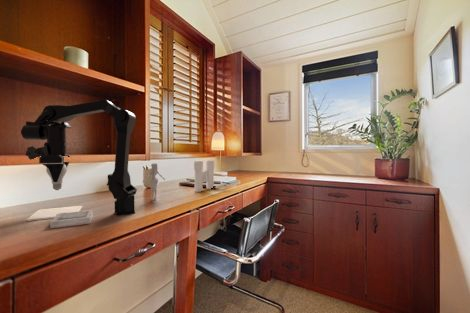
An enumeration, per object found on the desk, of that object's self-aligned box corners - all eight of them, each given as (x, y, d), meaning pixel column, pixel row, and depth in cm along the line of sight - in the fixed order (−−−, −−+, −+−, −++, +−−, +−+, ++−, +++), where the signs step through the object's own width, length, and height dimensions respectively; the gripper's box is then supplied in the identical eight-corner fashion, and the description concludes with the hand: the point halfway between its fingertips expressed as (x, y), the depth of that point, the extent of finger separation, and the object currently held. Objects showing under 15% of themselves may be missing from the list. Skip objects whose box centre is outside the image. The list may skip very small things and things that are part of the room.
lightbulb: (45, 190, 84) (44, 161, 84) (64, 188, 89) (64, 160, 88) (49, 192, 80) (48, 162, 80) (69, 190, 85) (68, 161, 85)
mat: (82, 207, 94) (82, 205, 94) (76, 215, 82) (76, 214, 82) (39, 211, 88) (39, 209, 88) (26, 221, 75) (26, 219, 75)
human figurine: (162, 197, 114) (162, 162, 113) (167, 198, 111) (167, 163, 111) (140, 201, 104) (140, 163, 104) (144, 203, 102) (144, 164, 101)
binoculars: (209, 187, 147) (209, 160, 146) (215, 188, 144) (216, 160, 143) (192, 191, 132) (192, 161, 131) (199, 192, 129) (199, 161, 128)
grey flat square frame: (93, 215, 83) (93, 209, 83) (90, 223, 74) (90, 217, 74) (58, 219, 78) (58, 213, 78) (50, 228, 69) (50, 222, 69)
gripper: (36, 140, 88) (37, 179, 89) (18, 138, 72) (19, 186, 72) (71, 141, 94) (71, 177, 94) (61, 139, 77) (62, 183, 78)
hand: (57, 181), depth 84 cm, fingers closed on lightbulb, 5 cm apart
